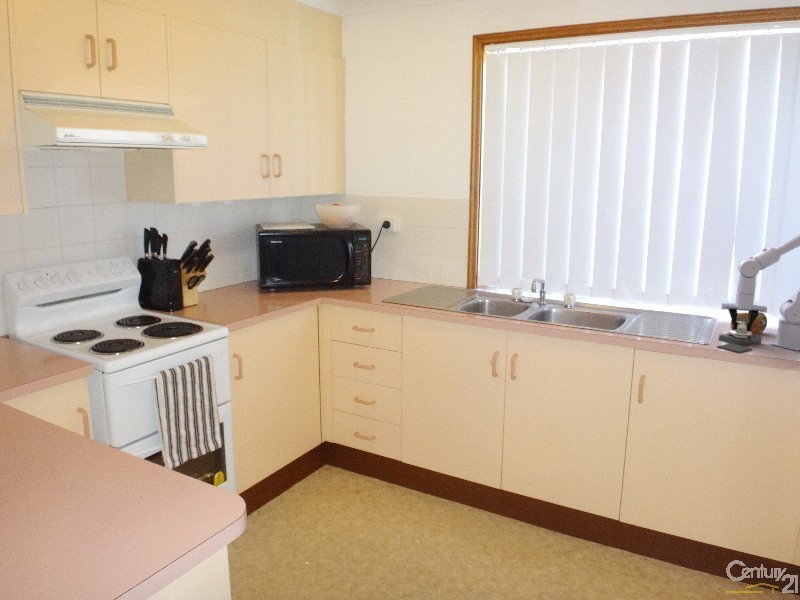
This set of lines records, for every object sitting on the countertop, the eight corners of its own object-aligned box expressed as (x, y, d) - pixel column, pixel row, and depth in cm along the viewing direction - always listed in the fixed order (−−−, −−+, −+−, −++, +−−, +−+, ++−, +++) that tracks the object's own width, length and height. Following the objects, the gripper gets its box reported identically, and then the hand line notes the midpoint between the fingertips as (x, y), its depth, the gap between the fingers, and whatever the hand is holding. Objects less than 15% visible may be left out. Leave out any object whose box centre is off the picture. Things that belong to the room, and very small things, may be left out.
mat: (752, 350, 226) (752, 348, 226) (738, 353, 222) (738, 351, 222) (730, 344, 232) (730, 343, 232) (717, 347, 228) (717, 346, 228)
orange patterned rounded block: (734, 335, 246) (736, 314, 244) (727, 333, 249) (730, 312, 247) (766, 333, 250) (769, 312, 248) (760, 331, 253) (762, 310, 251)
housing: (761, 343, 235) (761, 337, 235) (744, 346, 230) (745, 341, 230) (734, 336, 244) (735, 331, 243) (718, 340, 239) (719, 334, 238)
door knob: (755, 339, 235) (757, 323, 234) (743, 342, 232) (745, 325, 231) (736, 335, 241) (738, 319, 240) (724, 337, 238) (726, 321, 237)
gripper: (766, 292, 235) (761, 329, 237) (721, 289, 239) (717, 325, 242) (769, 296, 228) (765, 333, 231) (724, 293, 233) (720, 330, 235)
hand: (741, 330), depth 236 cm, fingers closed on door knob, 4 cm apart
